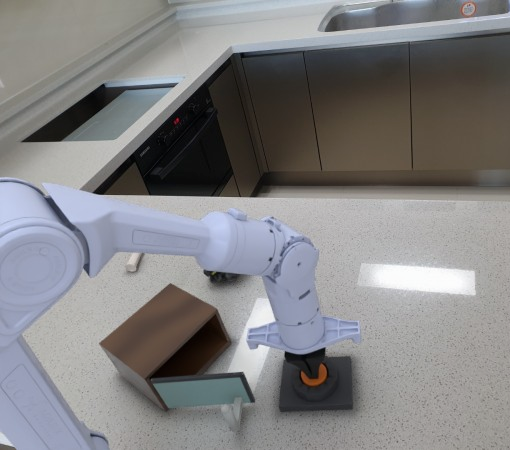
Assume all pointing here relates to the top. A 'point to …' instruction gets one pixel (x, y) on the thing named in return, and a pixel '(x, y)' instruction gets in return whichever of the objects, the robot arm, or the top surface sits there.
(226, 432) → the top surface
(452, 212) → the top surface
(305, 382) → the light button
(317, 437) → the top surface
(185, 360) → the cabinet
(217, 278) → the fruit
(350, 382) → the switch block
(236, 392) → the glass door
